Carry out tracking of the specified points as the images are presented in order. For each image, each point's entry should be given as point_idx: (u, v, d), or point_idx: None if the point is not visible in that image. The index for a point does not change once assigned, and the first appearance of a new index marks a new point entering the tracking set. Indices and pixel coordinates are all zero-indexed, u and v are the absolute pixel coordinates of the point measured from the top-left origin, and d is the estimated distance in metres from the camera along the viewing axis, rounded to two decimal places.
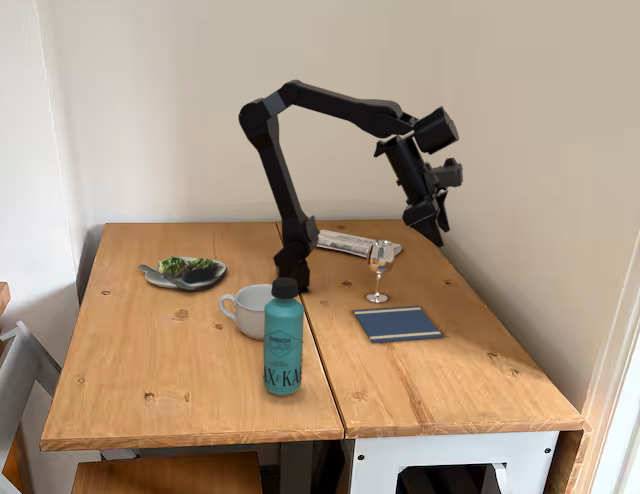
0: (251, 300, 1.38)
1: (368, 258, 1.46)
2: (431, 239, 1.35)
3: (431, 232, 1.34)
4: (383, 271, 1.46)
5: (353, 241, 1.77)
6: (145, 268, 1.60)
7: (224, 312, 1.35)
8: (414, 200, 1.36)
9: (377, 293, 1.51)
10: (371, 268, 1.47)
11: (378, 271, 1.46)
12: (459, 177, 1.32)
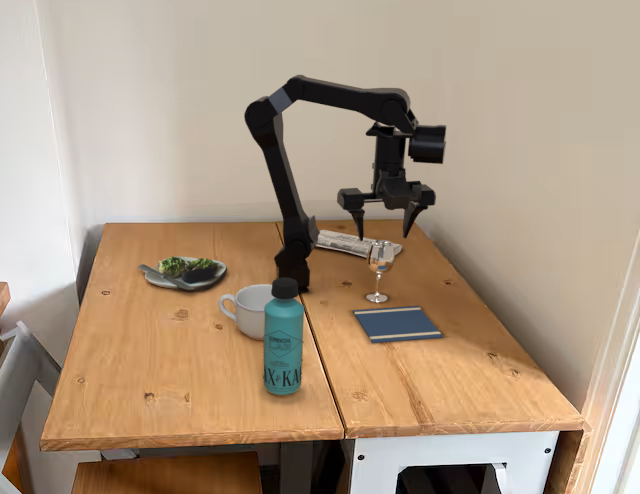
0: (251, 300, 1.38)
1: (368, 258, 1.46)
2: (356, 228, 1.44)
3: (356, 223, 1.43)
4: (383, 271, 1.46)
5: (353, 241, 1.77)
6: (145, 268, 1.60)
7: (224, 312, 1.35)
8: None
9: (377, 293, 1.51)
10: (371, 268, 1.47)
11: (378, 271, 1.46)
12: (390, 202, 1.33)
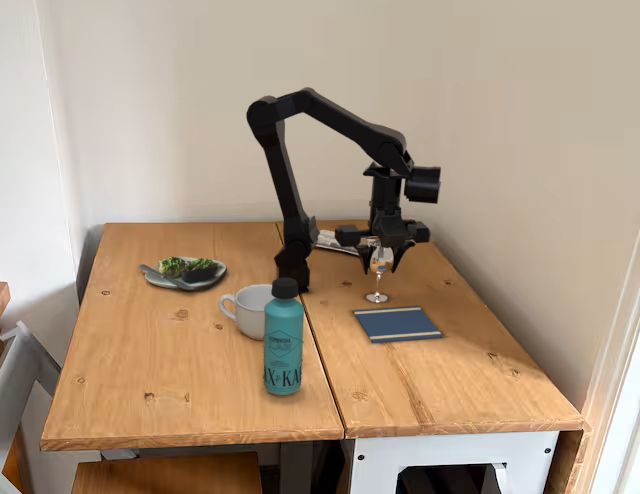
0: (251, 300, 1.38)
1: (368, 258, 1.46)
2: (361, 262, 1.48)
3: (361, 257, 1.47)
4: (383, 271, 1.46)
5: None
6: (145, 268, 1.60)
7: (224, 312, 1.35)
8: None
9: (377, 293, 1.51)
10: (371, 268, 1.47)
11: (378, 271, 1.46)
12: (385, 241, 1.37)
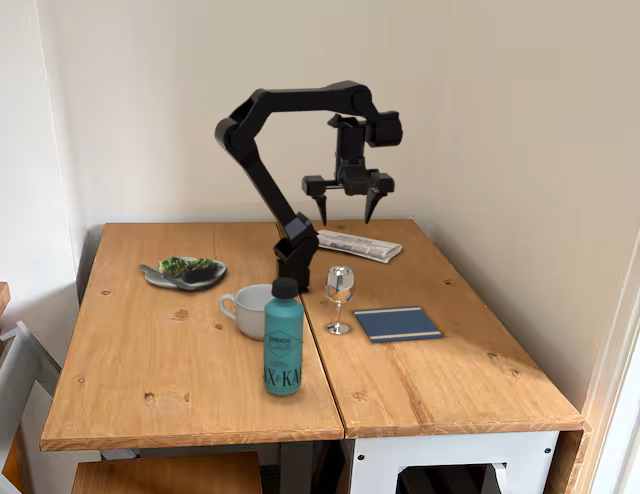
0: (251, 300, 1.38)
1: (326, 286, 1.34)
2: (320, 214, 1.51)
3: (319, 209, 1.50)
4: (342, 300, 1.34)
5: (353, 241, 1.77)
6: (145, 268, 1.60)
7: (224, 312, 1.35)
8: None
9: (337, 323, 1.39)
10: (329, 297, 1.34)
11: (337, 300, 1.34)
12: (349, 189, 1.41)
